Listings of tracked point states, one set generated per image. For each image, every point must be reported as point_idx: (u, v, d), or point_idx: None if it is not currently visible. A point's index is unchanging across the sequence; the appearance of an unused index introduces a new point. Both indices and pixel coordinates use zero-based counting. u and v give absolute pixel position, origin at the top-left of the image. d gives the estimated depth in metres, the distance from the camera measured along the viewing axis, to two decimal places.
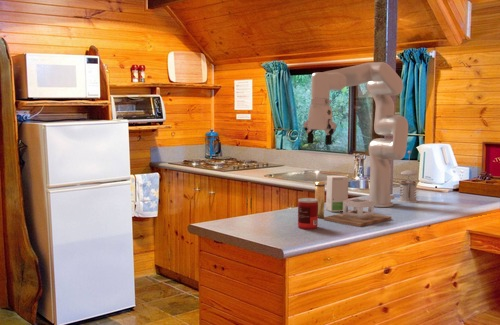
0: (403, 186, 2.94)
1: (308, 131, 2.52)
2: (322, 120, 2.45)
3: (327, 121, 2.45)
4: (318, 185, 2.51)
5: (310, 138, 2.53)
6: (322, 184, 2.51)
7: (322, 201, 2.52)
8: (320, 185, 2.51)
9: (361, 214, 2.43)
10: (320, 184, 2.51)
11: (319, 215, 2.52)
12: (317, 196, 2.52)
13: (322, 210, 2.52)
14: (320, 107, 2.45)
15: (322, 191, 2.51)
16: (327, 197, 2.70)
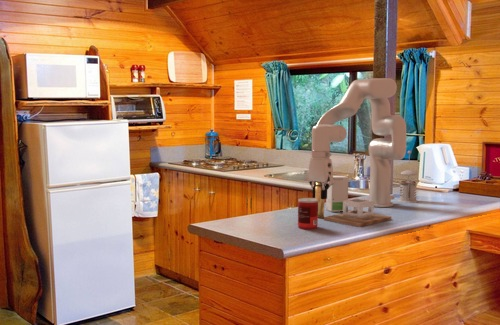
0: (403, 186, 2.94)
1: (313, 185, 2.54)
2: (322, 173, 2.48)
3: (327, 174, 2.48)
4: (318, 185, 2.51)
5: None
6: None
7: (322, 201, 2.52)
8: (320, 185, 2.51)
9: (361, 214, 2.43)
10: (320, 184, 2.51)
11: (319, 215, 2.52)
12: (317, 196, 2.52)
13: (322, 210, 2.52)
14: (320, 160, 2.48)
15: None
16: (327, 197, 2.70)
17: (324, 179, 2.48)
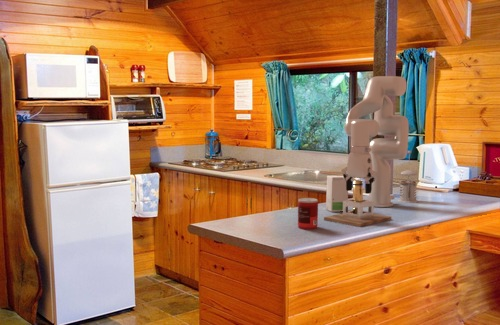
0: (403, 186, 2.94)
1: (347, 178, 2.50)
2: (362, 168, 2.43)
3: (367, 170, 2.43)
4: (356, 184, 2.46)
5: (349, 185, 2.51)
6: (360, 183, 2.46)
7: (361, 200, 2.47)
8: (358, 184, 2.46)
9: (361, 214, 2.43)
10: (358, 183, 2.46)
11: None
12: (355, 195, 2.47)
13: None
14: (360, 155, 2.44)
15: (360, 190, 2.46)
16: (327, 197, 2.70)
17: (364, 175, 2.43)
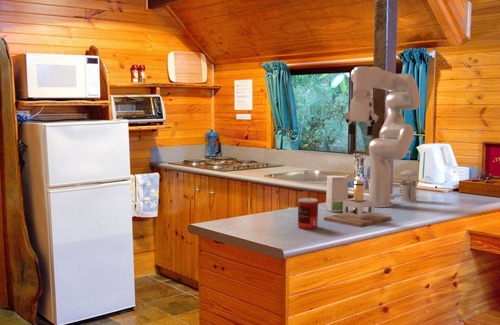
0: (403, 186, 2.94)
1: (349, 122, 2.65)
2: (364, 112, 2.58)
3: (369, 113, 2.57)
4: (357, 184, 2.46)
5: (351, 129, 2.65)
6: (361, 183, 2.46)
7: (361, 200, 2.47)
8: (359, 184, 2.46)
9: (361, 214, 2.43)
10: (359, 183, 2.46)
11: None
12: (356, 195, 2.47)
13: None
14: (362, 99, 2.58)
15: (361, 190, 2.47)
16: (327, 197, 2.70)
17: (365, 118, 2.58)
